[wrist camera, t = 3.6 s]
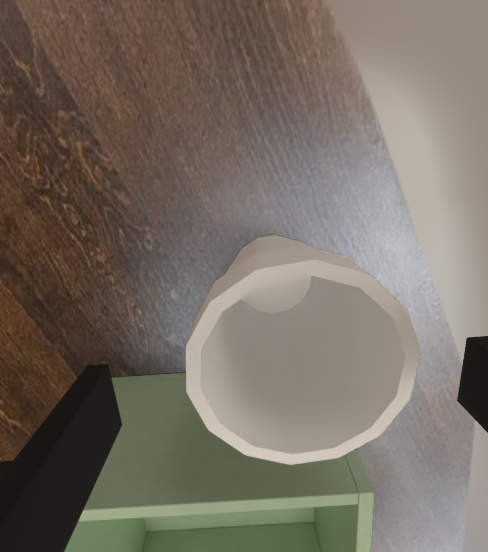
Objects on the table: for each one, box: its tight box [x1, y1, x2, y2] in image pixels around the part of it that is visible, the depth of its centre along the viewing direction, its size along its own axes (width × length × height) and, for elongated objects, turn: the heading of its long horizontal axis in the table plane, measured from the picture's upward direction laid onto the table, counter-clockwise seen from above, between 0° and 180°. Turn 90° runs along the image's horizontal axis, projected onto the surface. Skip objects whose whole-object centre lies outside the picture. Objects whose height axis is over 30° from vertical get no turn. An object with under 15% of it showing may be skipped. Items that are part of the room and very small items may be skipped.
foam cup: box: [186, 235, 421, 465], centre depth 19 cm, size 10×9×13 cm
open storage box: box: [64, 373, 374, 552], centre depth 25 cm, size 19×19×12 cm
